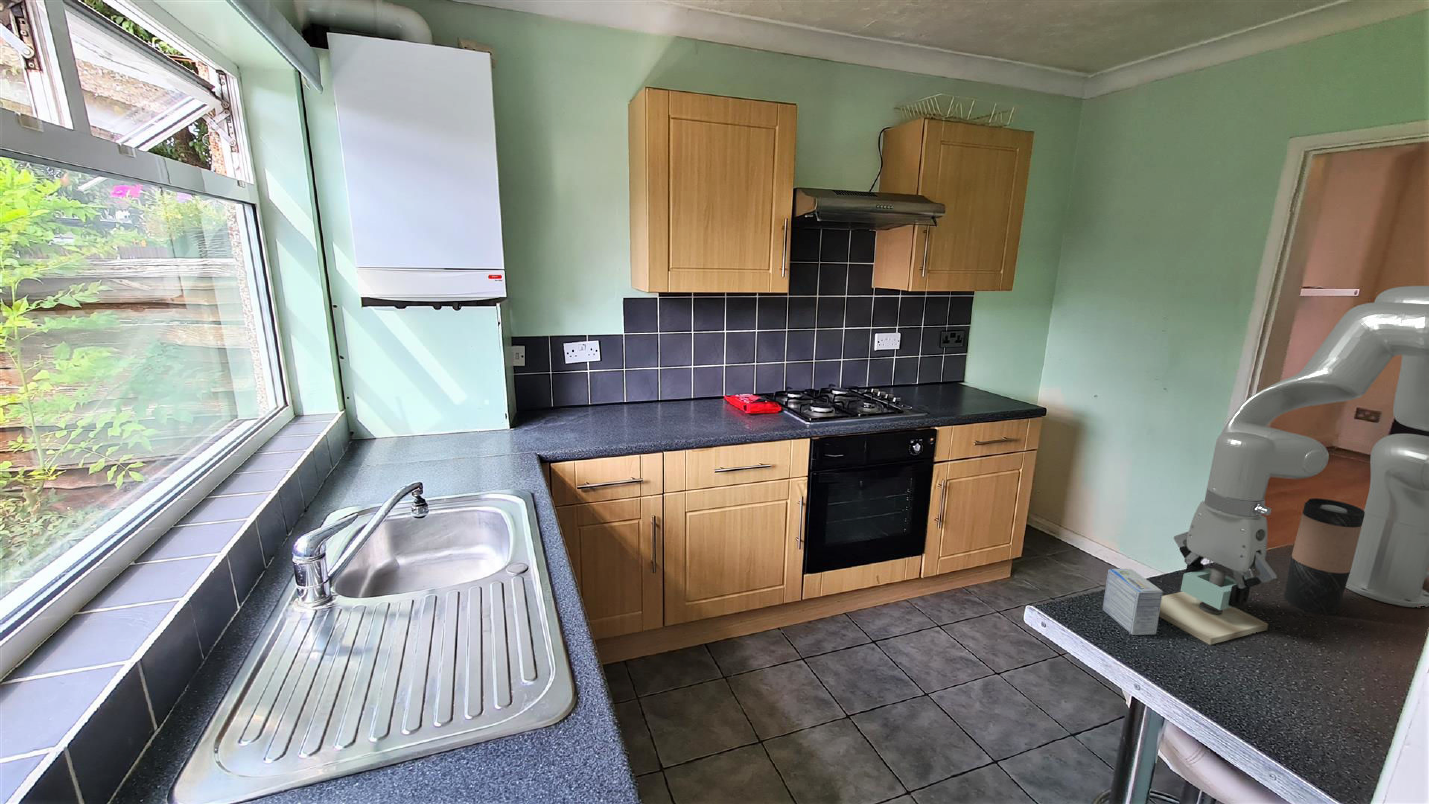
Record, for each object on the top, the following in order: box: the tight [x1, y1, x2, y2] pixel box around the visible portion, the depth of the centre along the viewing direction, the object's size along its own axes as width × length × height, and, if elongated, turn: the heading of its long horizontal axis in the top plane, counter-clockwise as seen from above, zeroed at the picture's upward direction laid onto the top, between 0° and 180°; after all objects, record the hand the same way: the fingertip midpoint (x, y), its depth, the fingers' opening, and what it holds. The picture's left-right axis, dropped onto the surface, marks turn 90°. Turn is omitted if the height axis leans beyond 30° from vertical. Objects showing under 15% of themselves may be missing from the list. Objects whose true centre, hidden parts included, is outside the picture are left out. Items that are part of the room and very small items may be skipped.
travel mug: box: [1283, 497, 1365, 616], centre depth 106 cm, size 8×8×20 cm
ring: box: [1180, 567, 1236, 610], centre depth 104 cm, size 7×7×4 cm
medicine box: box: [1102, 568, 1163, 636], centre depth 103 cm, size 8×4×9 cm, turn 0°
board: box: [1159, 567, 1269, 646], centre depth 104 cm, size 14×12×9 cm
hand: (1213, 593), depth 104 cm, fingers closed on ring, 6 cm apart
